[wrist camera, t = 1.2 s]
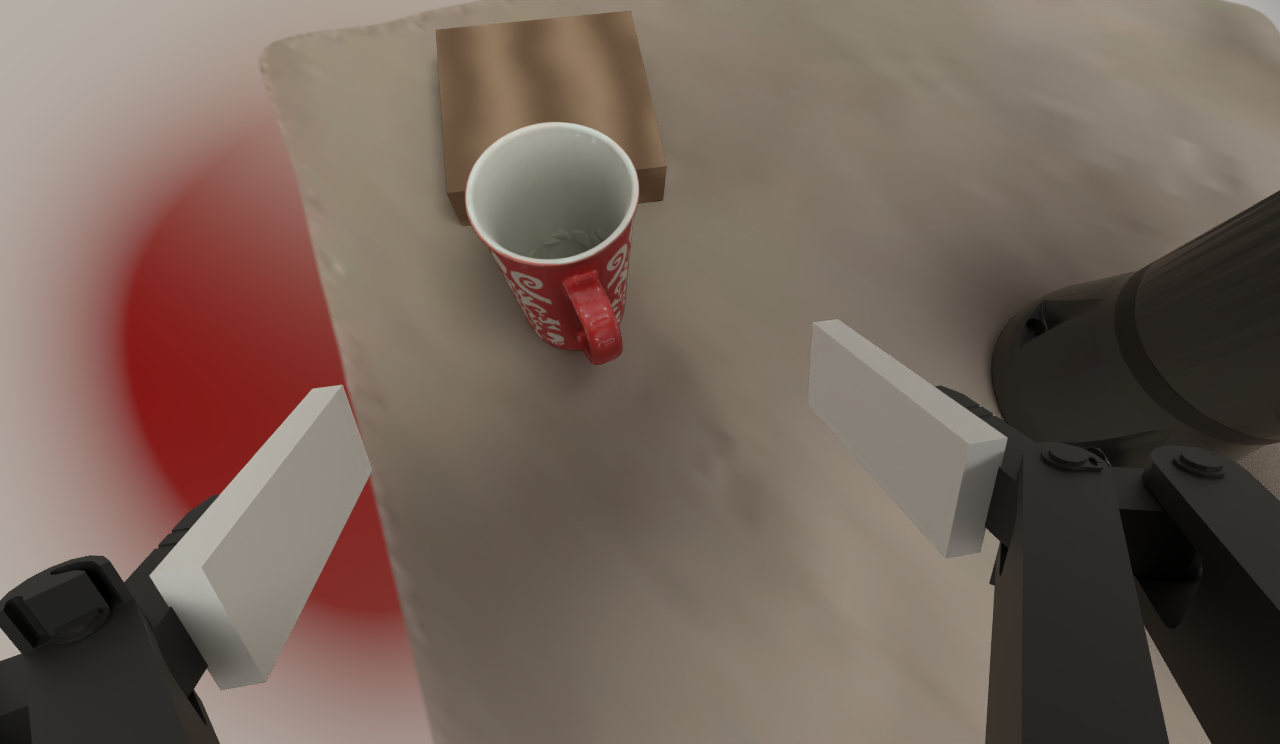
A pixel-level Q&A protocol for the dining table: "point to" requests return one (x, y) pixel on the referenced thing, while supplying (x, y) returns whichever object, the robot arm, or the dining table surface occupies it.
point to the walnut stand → (546, 91)
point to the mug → (560, 229)
